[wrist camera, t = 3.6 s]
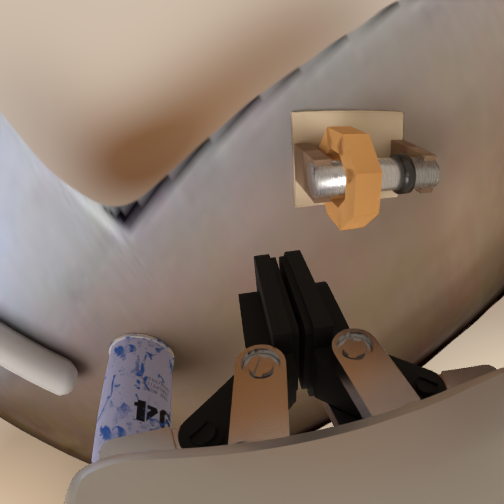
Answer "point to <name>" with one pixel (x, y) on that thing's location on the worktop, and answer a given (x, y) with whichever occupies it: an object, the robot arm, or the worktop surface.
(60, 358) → the tube
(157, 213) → the worktop surface
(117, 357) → the aerosol can
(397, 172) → the pipe
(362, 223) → the o ring
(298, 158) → the base board
